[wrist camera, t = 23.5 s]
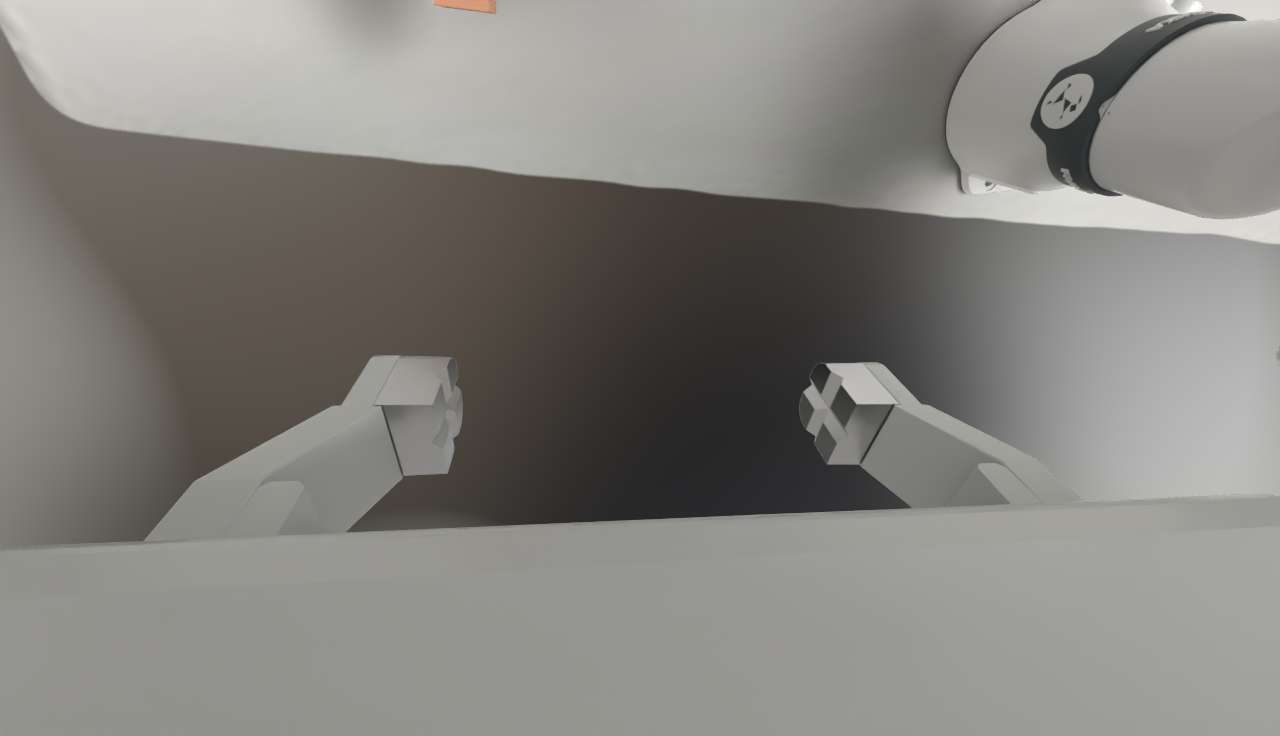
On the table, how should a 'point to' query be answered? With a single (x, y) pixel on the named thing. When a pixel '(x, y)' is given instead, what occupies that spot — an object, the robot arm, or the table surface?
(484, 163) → the table surface
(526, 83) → the table surface
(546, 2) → the table surface
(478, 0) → the bar
